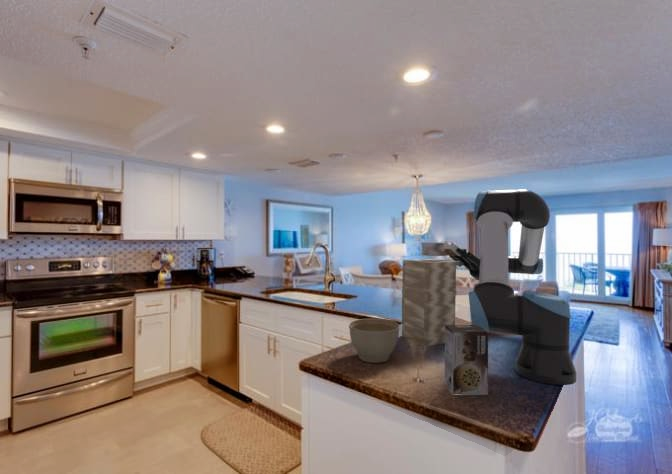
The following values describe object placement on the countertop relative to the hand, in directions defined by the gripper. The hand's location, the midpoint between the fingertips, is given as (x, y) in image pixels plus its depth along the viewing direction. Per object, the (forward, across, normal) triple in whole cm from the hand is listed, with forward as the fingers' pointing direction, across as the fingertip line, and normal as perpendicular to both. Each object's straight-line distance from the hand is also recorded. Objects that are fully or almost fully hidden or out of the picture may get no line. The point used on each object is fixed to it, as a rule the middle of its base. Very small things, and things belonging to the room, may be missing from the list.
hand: (447, 245), depth 137 cm
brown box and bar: (-1, 0, -4) cm, 4 cm away
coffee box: (+10, -38, -48) cm, 62 cm away
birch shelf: (-10, 0, -36) cm, 37 cm away
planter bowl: (+17, -9, -52) cm, 55 cm away
